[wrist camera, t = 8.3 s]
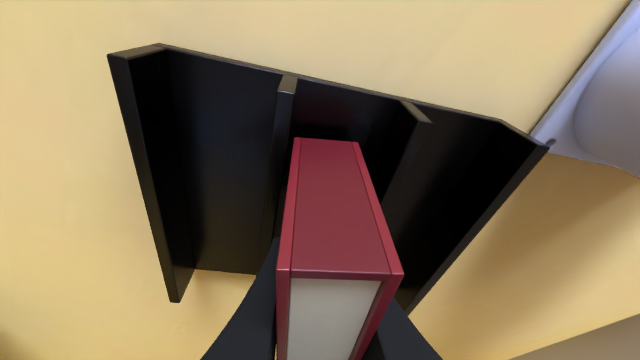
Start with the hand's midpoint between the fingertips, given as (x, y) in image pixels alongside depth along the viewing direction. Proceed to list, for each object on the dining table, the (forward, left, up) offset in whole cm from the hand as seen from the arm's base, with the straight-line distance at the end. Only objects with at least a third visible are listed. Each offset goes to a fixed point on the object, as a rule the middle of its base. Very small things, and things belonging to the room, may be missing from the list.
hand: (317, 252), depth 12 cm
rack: (0, 0, -4) cm, 4 cm away
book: (0, 0, -2) cm, 2 cm away
